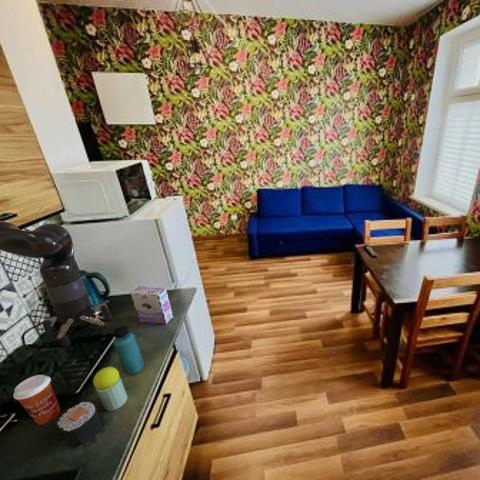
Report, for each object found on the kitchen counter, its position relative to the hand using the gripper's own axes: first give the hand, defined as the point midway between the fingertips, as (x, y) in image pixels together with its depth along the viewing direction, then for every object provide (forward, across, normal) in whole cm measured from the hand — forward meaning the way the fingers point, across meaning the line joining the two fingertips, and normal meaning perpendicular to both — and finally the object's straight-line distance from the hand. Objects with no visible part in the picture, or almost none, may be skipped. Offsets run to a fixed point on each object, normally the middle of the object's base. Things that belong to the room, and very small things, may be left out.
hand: (86, 339), depth 80 cm
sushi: (+25, +6, +10) cm, 27 cm away
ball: (+14, -2, +4) cm, 14 cm away
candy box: (+25, -18, -35) cm, 47 cm away
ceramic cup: (+25, -2, +4) cm, 25 cm away
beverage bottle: (+25, -8, -7) cm, 27 cm away
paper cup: (+25, +16, -3) cm, 30 cm away
